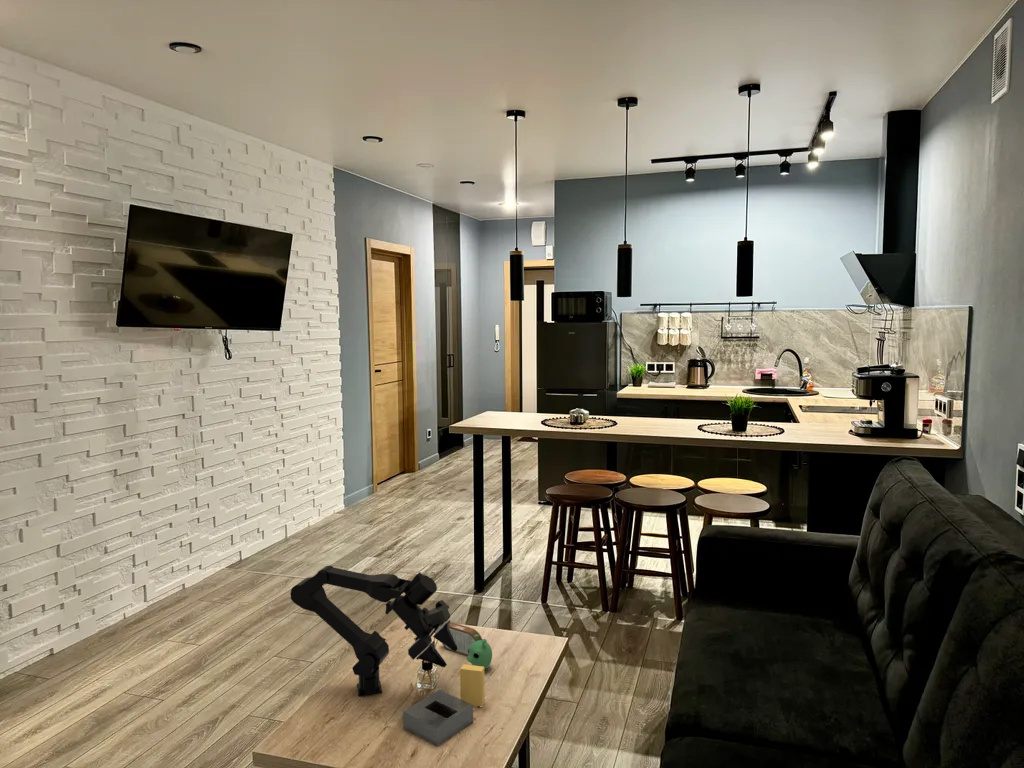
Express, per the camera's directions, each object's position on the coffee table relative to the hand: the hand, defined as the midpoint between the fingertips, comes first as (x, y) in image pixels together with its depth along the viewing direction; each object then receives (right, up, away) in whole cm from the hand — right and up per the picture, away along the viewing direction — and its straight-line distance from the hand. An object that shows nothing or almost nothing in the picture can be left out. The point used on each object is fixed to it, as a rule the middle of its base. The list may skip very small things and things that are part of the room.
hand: (451, 657), depth 188 cm
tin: (+1, -10, +28) cm, 30 cm away
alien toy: (+7, -10, +18) cm, 22 cm away
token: (+6, -12, 0) cm, 13 cm away
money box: (-2, -13, -10) cm, 17 cm away
